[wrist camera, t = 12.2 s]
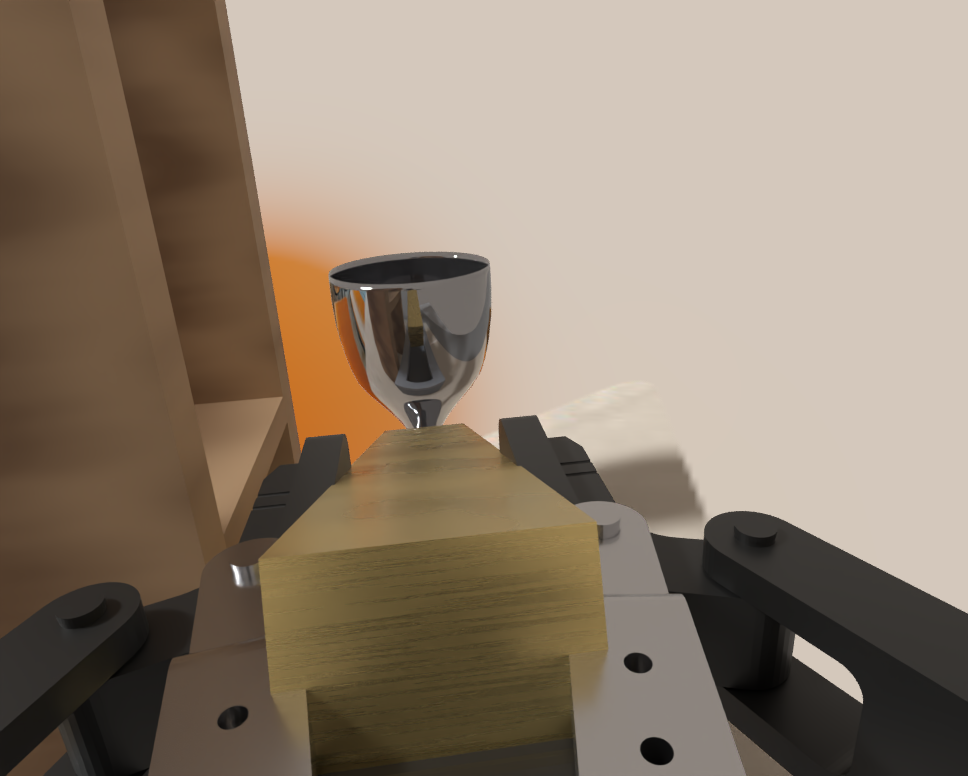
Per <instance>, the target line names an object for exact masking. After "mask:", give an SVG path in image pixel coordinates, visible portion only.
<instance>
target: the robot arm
mask: <svg viewBox="0 0 968 776" xmlns="http://www.w3.org/2000/svg"><path fill="white" fill-rule="evenodd" d="M499 446H500V453H501V454H502V455H504V456H505V457H506V458H508V459H509V460H510V461H512V462H513V463H514V464H515V465H517V466H522V467H523V468H525V469H526V470H527V471H529V472H530V473H531V474H533V475H534V476H535V477H537V478H538V479H540V480H541V481H542V482H544V483H545V484H546V485H548V486H549V487H550V488H552V489H553V490H554V491H556V492H557V493H559V494H560V495H561V496H563V497H564V498H565V499H567V500H568V501H569V502H571V503H572V504H574V505H575V506H576V507H578V508H579V509H580V510H582V511H583V512H584V513H586V514H587V515H589V516H590V517H591V518H593V519H594V520H595V521H597V531H598V542H599V553H600V564H601V575H602V586H603V596H604V607H605V618H606V629H607V640H608V649H607V650H599V651H592V652H584V653H577V654H569V675H570V707H571V724H572V736H573V738H568V739H561V740H554V741H547V742H541V743H534V744H527V745H520V746H513V747H506V748H499V749H492V750H485V751H478V752H471V753H464V754H457V755H450V756H443V757H437V758H430V759H423V760H416V761H409V762H402V763H395V764H388V765H381V766H374V767H367V768H360V769H353V770H346V771H339V772H332V773H326V774H319V775H318V774H317V761H316V749H315V743H314V737H313V730H312V724H311V718H310V712H309V705H308V699H307V693H306V689H305V690H297V691H290V692H282V693H275V694H271V692H270V681H269V671H268V660H267V649H266V638H265V627H264V616H263V605H262V595H261V584H260V573H259V562H258V559H259V558H260V557H261V556H262V555H263V554H264V553H265V552H266V551H267V550H268V549H269V548H270V547H271V546H272V545H273V544H274V543H275V542H276V541H277V540H278V539H279V538H280V537H281V536H282V535H283V534H284V533H285V532H286V531H287V530H288V529H289V528H290V527H291V526H292V525H293V524H294V523H295V522H296V521H297V520H298V519H299V518H300V517H301V516H302V515H303V514H304V513H305V512H306V511H307V510H308V509H309V508H310V507H311V506H312V505H313V503H314V502H315V501H316V500H317V499H318V498H319V497H320V496H321V495H322V494H323V493H324V492H325V491H326V490H327V489H328V488H329V487H330V486H331V485H335V484H336V483H337V482H338V481H339V480H340V479H341V478H342V477H343V476H344V475H345V473H346V472H347V471H348V470H349V469H350V468H351V462H350V455H349V448H348V442H347V438H346V435H345V434H340V435H328V436H318V437H308V438H306V440H305V443H304V446H303V450H302V453H301V456H300V459H299V463H296V464H287V465H280V466H278V467H277V468H276V469H275V470H274V471H273V472H272V473H270V474H269V475H268V476H267V477H266V478H265V479H263V482H262V485H261V487H260V490H259V492H258V498H256V500H255V502H254V505H253V510H251V513H250V515H249V518H248V520H247V523H246V526H245V528H244V531H243V533H242V536H241V538H240V541H239V543H238V544H236V545H233V546H231V547H229V548H227V549H225V550H223V551H222V552H220V553H219V554H217V555H216V556H214V557H213V558H212V559H211V560H210V561H209V562H208V563H207V564H206V566H205V567H204V569H203V571H202V574H201V580H200V586H199V588H197V589H195V590H192V591H190V592H187V593H185V594H182V595H179V596H176V597H172V598H169V599H166V600H163V601H159V602H156V603H153V604H150V605H147V606H143V603H142V600H141V597H140V594H139V592H138V590H137V589H136V588H135V587H133V586H131V585H130V584H126V583H120V582H106V583H98V584H94V585H89V586H86V587H82V588H79V589H77V590H74V591H71V592H69V593H67V594H65V595H62V596H60V597H59V598H57V599H55V600H53V601H51V602H50V603H49V604H47V605H46V606H44V607H43V608H41V609H40V610H39V611H37V612H36V613H35V614H33V615H32V616H30V617H29V618H28V619H26V620H25V621H24V622H22V623H21V624H20V625H18V626H17V627H16V628H14V629H13V630H12V631H10V632H9V633H8V634H6V635H5V636H3V637H2V638H1V639H0V776H6V775H7V774H8V773H9V772H10V771H11V770H12V769H13V768H15V767H16V766H17V765H18V764H19V763H20V762H21V761H22V760H23V759H24V758H25V757H26V756H27V755H28V754H29V753H30V752H32V751H33V750H34V749H35V748H36V747H37V746H38V745H39V744H40V743H41V742H42V741H43V740H44V739H45V738H46V737H47V736H49V735H50V734H51V733H52V732H53V731H54V730H55V729H56V728H57V727H58V728H59V731H60V734H61V736H62V739H63V742H64V745H65V747H66V750H67V752H66V753H65V754H64V755H63V756H62V757H61V758H60V759H59V760H58V761H57V762H56V763H55V764H54V765H53V766H52V767H51V768H50V769H49V770H48V771H47V772H46V773H45V774H44V775H43V776H746V773H745V770H744V767H743V764H742V761H741V758H740V755H739V753H738V750H737V747H736V744H735V741H734V738H733V735H732V732H731V729H730V726H729V723H728V721H730V722H731V723H732V724H733V725H734V726H735V727H737V728H738V729H739V730H740V731H741V732H742V733H744V734H745V735H746V736H747V737H748V738H750V739H751V740H752V741H753V742H754V743H755V744H757V745H758V746H759V747H760V748H761V749H762V750H764V751H765V752H766V753H767V754H768V755H770V756H771V757H772V758H773V759H774V760H775V761H777V762H778V763H779V764H780V765H781V766H782V767H784V768H785V769H786V770H787V771H788V772H789V773H791V774H792V775H793V776H968V614H967V613H965V612H963V611H961V610H959V609H957V608H955V607H953V606H952V605H950V604H948V603H945V602H943V601H942V600H940V599H938V598H936V597H934V596H931V595H930V594H928V593H926V592H924V591H922V590H920V589H918V588H916V587H914V586H912V585H910V584H908V583H906V582H904V581H902V580H900V579H898V578H896V577H894V576H892V575H890V574H888V573H886V572H884V571H883V570H880V569H879V568H876V567H875V566H873V565H871V564H868V563H867V562H865V561H863V560H861V559H859V558H857V557H855V556H853V555H851V554H849V553H847V552H845V551H843V550H841V549H839V548H837V547H835V546H833V545H831V544H829V543H827V542H825V541H823V540H821V539H819V538H817V537H816V536H814V535H811V534H810V533H807V532H806V531H804V530H802V529H799V528H798V527H796V526H794V525H792V524H790V523H788V522H786V521H784V520H781V519H779V518H777V517H774V516H771V515H767V514H763V513H757V512H749V511H736V512H728V513H723V514H720V515H717V516H715V517H713V518H712V519H711V520H709V521H708V523H707V524H706V526H705V529H704V540H699V539H687V538H675V537H666V536H661V535H657V534H653V533H650V531H649V528H648V525H647V522H646V520H645V519H644V517H643V516H642V515H641V514H639V513H638V512H637V511H635V510H634V509H632V508H630V507H627V506H625V505H621V504H618V503H615V501H614V500H613V498H612V496H611V494H610V493H609V491H608V489H607V488H606V486H605V484H604V483H603V481H602V479H601V477H600V476H599V474H597V471H596V469H595V467H594V466H593V464H592V462H591V463H590V459H589V457H588V455H587V454H586V452H585V450H584V449H583V447H582V446H580V445H579V444H577V443H575V442H574V441H572V440H570V439H569V438H567V437H565V436H563V437H554V438H547V436H546V434H545V432H544V430H543V428H542V426H541V424H540V422H539V420H538V417H537V416H536V415H533V416H523V417H513V418H503V419H500V420H499ZM795 634H797V635H798V636H800V637H802V638H803V639H805V640H806V641H808V642H809V643H811V644H812V645H814V646H815V647H817V648H818V649H820V650H821V651H823V652H824V653H826V654H827V655H829V656H830V657H832V658H834V659H835V660H837V661H838V662H839V663H841V664H842V665H844V666H845V667H846V668H847V669H848V670H849V671H850V672H851V674H852V675H853V676H854V678H855V679H856V681H857V682H858V684H859V686H860V689H861V691H862V695H863V704H862V703H860V702H858V701H857V700H856V699H854V698H853V697H851V696H850V695H849V694H847V693H846V692H844V691H843V690H841V689H840V688H838V687H837V686H835V685H834V684H833V683H831V682H830V681H828V680H827V679H825V678H824V677H822V676H821V675H819V674H818V673H817V672H815V671H814V670H812V669H811V668H809V667H808V666H806V665H805V664H803V663H802V662H800V661H799V660H798V659H796V658H795V657H793V656H792V653H793V646H794V638H795ZM727 720H728V721H727Z"/></svg>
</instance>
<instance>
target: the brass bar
mask: <svg viewBox="0 0 968 776" xmlns="http://www.w3.org/2000/svg"><path fill="white" fill-rule="evenodd" d="M258 562H259V573H260V584H261V595H262V605H263V616H264V627H265V638H266V649H267V660H268V671H269V681H270V692H271V694H275V693H282V692H290V691H297V690H305V689H306V693H307V699H308V705H309V712H310V718H311V724H312V730H313V737H314V743H315V749H316V761H317V774H318V775H319V774H326V773H332V772H339V771H346V770H353V769H360V768H367V767H374V766H381V765H388V764H395V763H402V762H409V761H416V760H423V759H430V758H437V757H443V756H450V755H457V754H464V753H471V752H478V751H485V750H492V749H499V748H506V747H513V746H520V745H527V744H534V743H541V742H547V741H554V740H561V739H568V738H573V736H572V724H571V707H570V675H569V654H577V653H584V652H592V651H599V650H607V649H608V640H607V629H606V618H605V607H604V596H603V586H602V575H601V564H600V553H599V542H598V531H597V521H595V520H594V519H593V518H591V517H590V516H589V515H587V514H586V513H584V512H583V511H582V510H580V509H579V508H578V507H576V506H575V505H574V504H572V503H571V502H569V501H568V500H567V499H565V498H564V497H563V496H561V495H560V494H559V493H557V492H556V491H554V490H553V489H552V488H550V487H549V486H548V485H546V484H545V483H544V482H542V481H541V480H540V479H538V478H537V477H535V476H534V475H533V474H531V473H530V472H529V471H527V470H526V469H525V468H523V467H522V466H517V465H515V464H514V463H513V462H512V461H510V460H509V459H508V458H506V457H505V456H504V455H502V454H501V453H500V450H499V449H497V448H496V447H495V446H493V445H492V444H491V443H489V442H488V441H486V440H485V439H484V438H482V437H481V436H480V435H478V434H477V433H476V432H474V431H473V430H471V429H470V428H469V427H467V426H466V425H465V424H452V425H442V426H431V427H421V428H411V429H401V430H391V431H385V432H384V433H383V434H382V435H381V436H380V437H379V438H378V439H377V440H376V441H375V442H374V443H373V444H372V445H371V446H370V447H369V448H368V449H367V450H366V451H365V452H364V453H363V454H362V455H361V456H360V457H359V458H358V459H357V460H356V461H355V462H354V463H353V464H352V465H351V468H350V469H349V470H348V471H347V472H346V473H345V475H344V476H343V477H342V478H341V479H340V480H339V481H338V482H337V483H336V484H335V485H331V486H330V487H329V488H328V489H327V490H326V491H325V492H324V493H323V494H322V495H321V496H320V497H319V498H318V499H317V500H316V501H315V502H314V503H313V505H312V506H311V507H310V508H309V509H308V510H307V511H306V512H305V513H304V514H303V515H302V516H301V517H300V518H299V519H298V520H297V521H296V522H295V523H294V524H293V525H292V526H291V527H290V528H289V529H288V530H287V531H286V532H285V533H284V534H283V535H282V536H281V537H280V538H279V539H278V540H277V541H276V542H275V543H274V544H273V545H272V546H271V547H270V548H269V549H268V550H267V551H266V552H265V553H264V554H263V555H262V556H261V557H260V558H259V559H258Z"/></svg>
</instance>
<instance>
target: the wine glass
mask: <svg viewBox="0 0 968 776" xmlns="http://www.w3.org/2000/svg"><path fill="white" fill-rule="evenodd" d="M329 283H330V291H331V299H332V305H333V310H334V315H335V321H336V326H337V330H338V333H339V337H340V340H341V343H342V347H343V350H344V352H345V355H346V358H347V360H348V363H349V365H350V368H351V370H352V372H353V373H354V376H355V378H356V379H357V381H358V383H359V384H360V385H361V386H362V387H363V389H364V390H365V391H366V392H367V393H368V394H369V395H370V396H372V397H373V398H374V399H375V400H376V401H378V402H379V403H380V404H381V405H382V406H384V407H385V408H386V409H387V410H388V411H389V412H391V413H392V414H393V415H394V416H395V417H397V418H398V419H399V421H400V422H401V423H402V424H403V425H404V426H405V427H406V429H411V428H421V427H431V426H442V425H443V423H444V421H445V420H446V418H447V417H448V415H449V413H450V412H451V411H452V410H453V408H454V407H455V406H456V405H457V404H458V402H459V401H460V400H461V399H462V397H463V396H464V395H465V394H466V393H467V391H468V390H469V389H470V388H471V386H472V385H473V383H474V382H475V380H476V379H477V377H478V375H479V374H480V372H481V369H482V366H483V363H484V360H485V356H486V351H487V345H488V340H489V330H490V321H491V274H490V263H489V260H488V259H486V258H484V257H482V256H478V255H473V254H467V253H457V252H415V253H401V254H392V255H384V256H377V257H371V258H366V259H360V260H356V261H352V262H348V263H345V264H343V265H340V266H337V267H335V268H333V269H332V270H331V271H330V272H329Z"/></svg>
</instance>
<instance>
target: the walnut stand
mask: <svg viewBox="0 0 968 776" xmlns="http://www.w3.org/2000/svg"><path fill="white" fill-rule="evenodd" d="M300 456H301V450H300V444H299V439H298V433H297V427H296V421H295V416H294V409H293V403H292V397H291V391H290V385H289V379H288V373H287V367H286V362H285V355H284V349H283V343H282V338H281V332H280V325H279V319H278V313H277V308H276V301H275V296H274V291H273V284H272V278H271V272H270V266H269V260H268V254H267V248H266V242H265V236H264V230H263V224H262V218H261V212H260V206H259V200H258V194H257V189H256V182H255V176H254V170H253V165H252V158H251V153H250V147H249V141H248V135H247V129H246V123H245V117H244V111H243V105H242V99H241V93H240V87H239V81H238V75H237V69H236V64H235V58H234V51H233V45H232V39H231V33H230V27H229V22H228V16H227V10H226V4H225V0H0V639H1V638H2V637H3V636H5V635H6V634H8V633H9V632H10V631H12V630H13V629H14V628H16V627H17V626H18V625H20V624H21V623H22V622H24V621H25V620H26V619H28V618H29V617H30V616H32V615H33V614H35V613H36V612H37V611H39V610H40V609H41V608H43V607H44V606H46V605H47V604H49V603H50V602H51V601H53V600H55V599H57V598H59V597H60V596H62V595H65V594H67V593H69V592H71V591H74V590H77V589H79V588H82V587H86V586H89V585H94V584H98V583H106V582H120V583H126V584H130V585H131V586H133V587H135V588H136V589H137V590H138V592H139V594H140V597H141V600H142V603H143V606H147V605H150V604H153V603H156V602H159V601H163V600H166V599H169V598H172V597H176V596H179V595H182V594H185V593H187V592H190V591H192V590H195V589H197V588H199V586H200V580H201V574H202V571H203V569H204V567H205V566H206V564H207V563H208V562H209V561H210V560H211V559H212V558H213V557H214V556H216V555H217V554H219V553H220V552H222V551H223V550H225V549H227V548H229V547H231V546H233V545H236V544H238V543H239V541H240V538H241V536H242V533H243V531H244V528H245V526H246V523H247V520H248V518H249V515H250V513H251V510H253V505H254V502H255V500H256V498H258V492H259V490H260V487H261V485H262V482H263V479H265V478H266V477H267V476H268V475H269V474H270V473H272V472H273V471H274V470H275V469H276V468H277V467H278V466H280V465H287V464H296V463H299V459H300ZM66 752H67V750H66V747H65V745H64V742H63V739H62V736H61V734H60V731H59V728H58V727H57V728H56V729H55V730H54V731H53V732H52V733H51V734H50V735H49V736H47V737H46V738H45V739H44V740H43V741H42V742H41V743H40V744H39V745H38V746H37V747H36V748H35V749H34V750H33V751H32V752H30V753H29V754H28V755H27V756H26V757H25V758H24V759H23V760H22V761H21V762H20V763H19V764H18V765H17V766H16V767H15V768H13V769H12V770H11V771H10V772H9V773H8V774H7V775H6V776H43V775H44V774H45V773H46V772H47V771H48V770H49V769H50V768H51V767H52V766H53V765H54V764H55V763H56V762H57V761H58V760H59V759H60V758H61V757H62V756H63V755H64V754H65V753H66Z"/></svg>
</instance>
